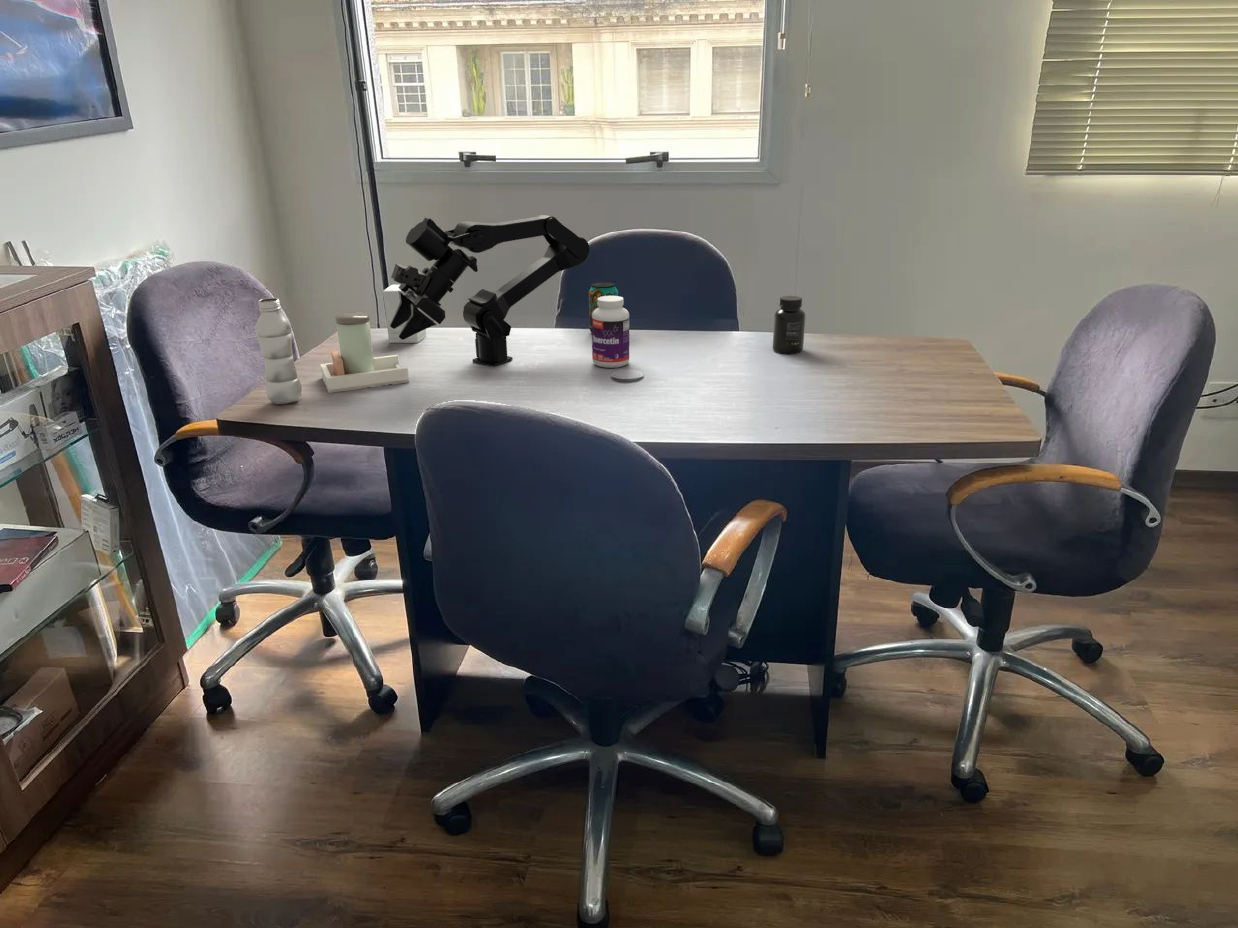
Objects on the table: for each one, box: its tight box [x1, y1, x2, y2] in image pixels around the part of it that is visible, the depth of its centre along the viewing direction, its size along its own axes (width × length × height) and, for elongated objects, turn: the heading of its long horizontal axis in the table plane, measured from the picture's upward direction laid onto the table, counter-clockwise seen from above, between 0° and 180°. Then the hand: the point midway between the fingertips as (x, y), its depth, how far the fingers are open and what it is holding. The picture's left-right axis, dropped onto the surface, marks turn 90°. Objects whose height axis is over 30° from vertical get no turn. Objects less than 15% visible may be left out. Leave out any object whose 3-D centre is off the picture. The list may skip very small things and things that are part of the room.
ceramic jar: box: [334, 311, 375, 375], centre depth 182 cm, size 7×7×13 cm
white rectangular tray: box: [319, 354, 410, 394], centre depth 184 cm, size 16×11×3 cm
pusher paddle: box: [330, 349, 345, 376], centre depth 182 cm, size 1×8×5 cm, turn 24°
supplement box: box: [381, 284, 427, 344], centre depth 212 cm, size 7×7×13 cm
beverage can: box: [588, 281, 619, 333], centre depth 215 cm, size 7×7×12 cm
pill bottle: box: [591, 295, 630, 369], centre depth 191 cm, size 8×8×14 cm
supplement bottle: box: [772, 295, 806, 355], centre depth 199 cm, size 7×7×12 cm
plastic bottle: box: [254, 297, 303, 405], centre depth 168 cm, size 6×7×20 cm
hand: (396, 332), depth 184 cm, fingers open, 9 cm apart
